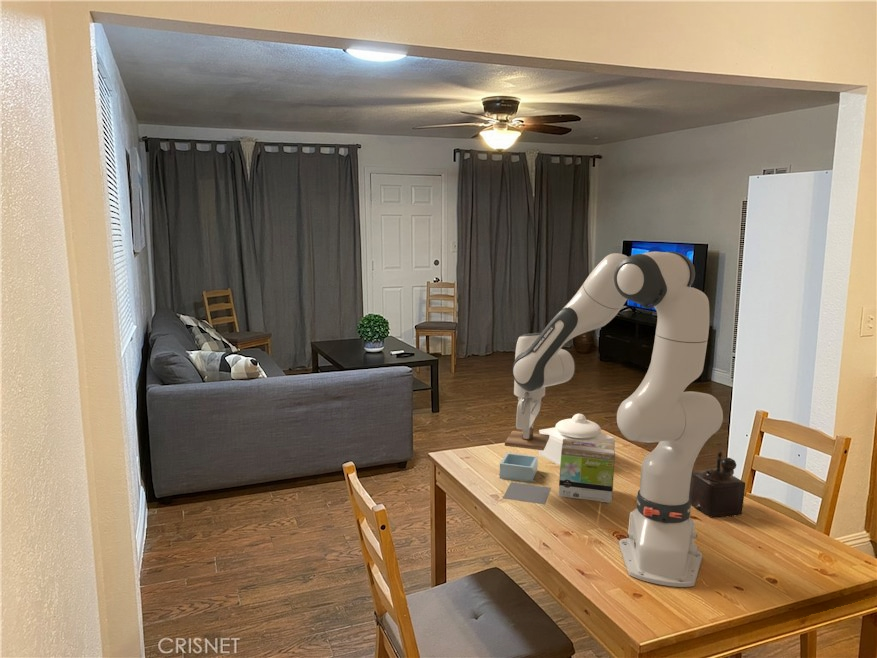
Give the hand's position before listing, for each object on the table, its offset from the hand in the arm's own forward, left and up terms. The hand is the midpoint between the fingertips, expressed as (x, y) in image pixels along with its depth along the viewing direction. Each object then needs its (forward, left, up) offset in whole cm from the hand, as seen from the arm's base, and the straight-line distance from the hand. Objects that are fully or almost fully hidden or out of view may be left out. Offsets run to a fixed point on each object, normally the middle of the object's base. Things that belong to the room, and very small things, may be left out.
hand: (527, 435), depth 181 cm
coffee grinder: (+5, -53, -18) cm, 56 cm away
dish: (+12, +4, -17) cm, 21 cm away
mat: (-1, -1, -17) cm, 17 cm away
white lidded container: (+33, -11, -18) cm, 39 cm away
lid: (0, 0, -2) cm, 2 cm away
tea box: (+5, -17, -18) cm, 25 cm away
